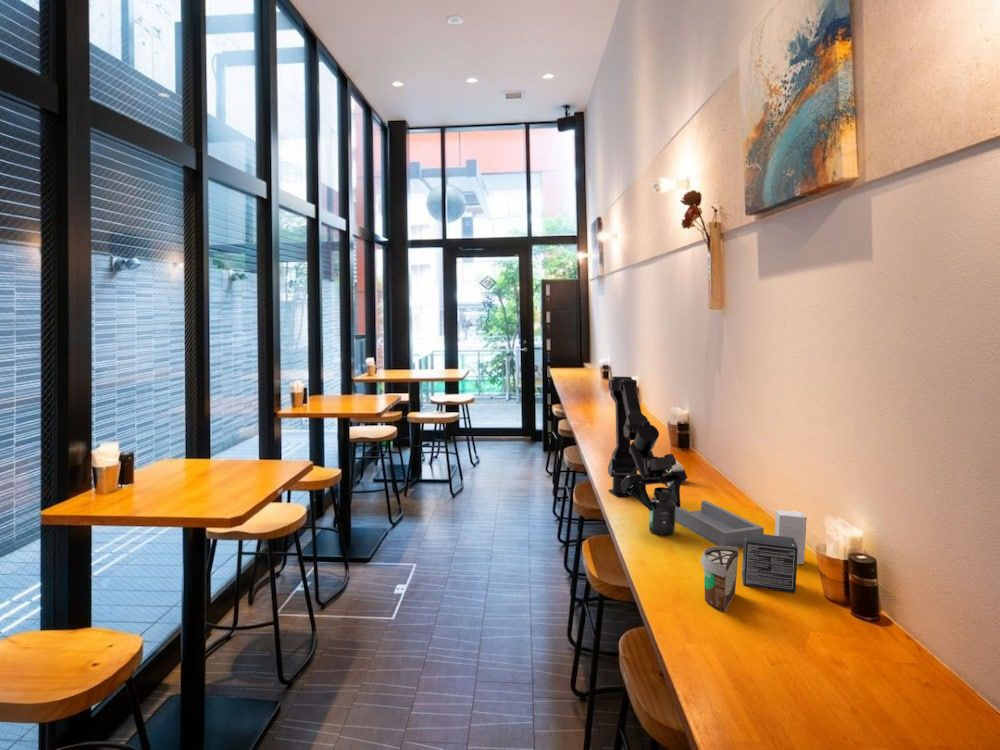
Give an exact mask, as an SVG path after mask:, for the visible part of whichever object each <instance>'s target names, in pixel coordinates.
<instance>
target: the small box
mask: <svg viewBox="0 0 1000 750" xmlns="http://www.w3.org/2000/svg"><path fill="white" fill-rule="evenodd" d="M797 554H798V546H797V544H796V542H795V540H794V538H791V537H783V536H775V534H774V535H773V534H765V533H763V534H757V533H749V532H744V541H743V547H742V564H741V566H742V567H741V568H742V570H741V578H742V584H743V586H744V587H750V588H756V589H763V590H771V591H776V592H782V593H783V592H784V593H790V594H795V593H797V572H798V571H797V570H798V569H797V568H798V567H797V566H798V564H797Z"/></svg>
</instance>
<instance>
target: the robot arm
mask: <svg viewBox="0 0 1000 750" xmlns="http://www.w3.org/2000/svg"><path fill="white" fill-rule="evenodd" d="M637 383H638V381H637V379H633V378H632V377H631V376H612V377H611V379H609V380H608V384H607V385H608V390H609V393H610V397H611V399H612V400H613V402H614V403H615V439H616V442H615V443H616V446H615V448H614V450H613V451H612V454H611V458H610V460H609V463H608V466H607V474H608V475H609V477H610V478H612V489H608V492H609V493H611V494H612V495H614V496H616V497H618V498H619V497H625V496H626V497H629V495H630V496H633V498H635V499H637V501H639V503H641V504H642V505H643V506H644V507H645V508H646V509H648V510H649V512H650V511H652V510H653V506H652V503H651V499H650V496H649V494H648V492H647V485H657V484H664V485H665V487H666V488H669V489H671V490H672V491H673V493H672V495H673V497H672V498H671V499H673V500H674V501H675V503H676V506H677V508H679V507H682V505H681V492H680V489H681V485H682V484H684V483H685V482H686V481H685V480H687V479H688V478H689V477H688V475H687V473H686V470H685V471H683V470H674V471H671V472H670V473H669V474H668V475H667V476H663V475H662V474H664V473H665V472H666V470H665V469H668V468H670V469H671V468H672V466H673V465H676V461H677V460H676V457H675V456H674V454H673V453H668V454H664V456H661V457H660V456H659V457H658V456H655V454H654V452H653V449H654V448H655V445H656V443H657V441H658V439H659V436H660V432H659V429H658V428H657V427H655V426H654V425H653V424H651V421H649V420H648V417H647V416H646V415H645V414H643V413H642V409H641V404H640V400H639V396H638V392H637V390H638V389H637V387H638V386H637V385H638V384H637ZM631 441H632V442H631ZM684 481H685V482H684Z"/></svg>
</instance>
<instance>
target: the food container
mask: <svg viewBox="0 0 1000 750" xmlns="http://www.w3.org/2000/svg"><path fill="white" fill-rule="evenodd" d="M739 549H740V547H739V548H737V547H731V546H717V545H715V546H710V547H708V548H706V549H705V550H704V551H703V553H702V556H701V558H700V564H701V566H702V567H703V574H704V575H703V577H704V578H703V579H704V581H703V583H704V584H703V585H704V600H705V602H706V604H707V605H708V606H710V608H713V609H715V610H716V611H719V612H722V613H725V612H726V611H727V609H728V607H729V605H730V604H731V602H732V601H733V598H734V596H735V594H736V587H737V576H738V563H739V556H740V555H739V553H740V551H739Z"/></svg>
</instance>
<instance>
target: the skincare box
mask: <svg viewBox="0 0 1000 750" xmlns="http://www.w3.org/2000/svg"><path fill="white" fill-rule="evenodd" d="M774 520H775V523H774V524H775V525H774V536H783V537H791V538H794V540H795V542H796V544H797V546H798V554H797V565H799V564H805V550H806V538H807V537H806V535H807V520H808V519H807V516H806V515H805V514H804V513H803V512H802V511H793V510H782V509H780V510H779V509H776V510H775V519H774Z"/></svg>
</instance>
